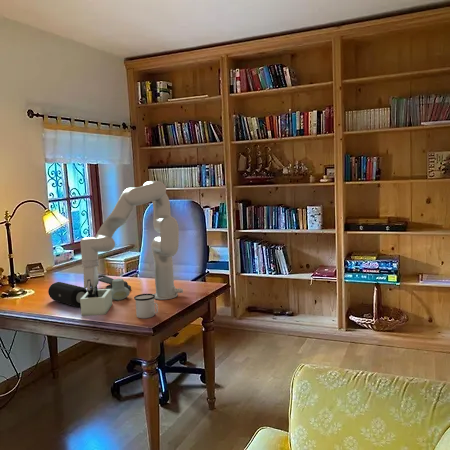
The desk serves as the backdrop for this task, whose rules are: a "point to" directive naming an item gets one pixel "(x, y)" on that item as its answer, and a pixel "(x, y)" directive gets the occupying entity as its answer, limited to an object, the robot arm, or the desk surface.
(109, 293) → the well box
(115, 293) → the air freshener
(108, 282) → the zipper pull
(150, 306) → the mug
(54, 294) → the portable speaker
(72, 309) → the desk surface
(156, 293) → the robot arm
